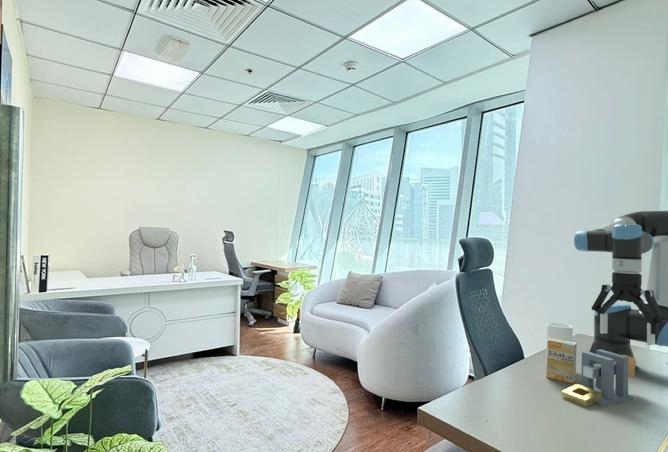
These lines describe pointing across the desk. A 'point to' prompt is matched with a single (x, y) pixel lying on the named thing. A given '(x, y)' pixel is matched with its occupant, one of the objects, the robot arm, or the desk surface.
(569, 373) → the supplement box
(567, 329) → the white hollow tube
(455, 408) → the desk surface
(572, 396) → the yellow square frame
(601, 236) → the robot arm
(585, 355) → the bracket
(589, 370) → the shaft
